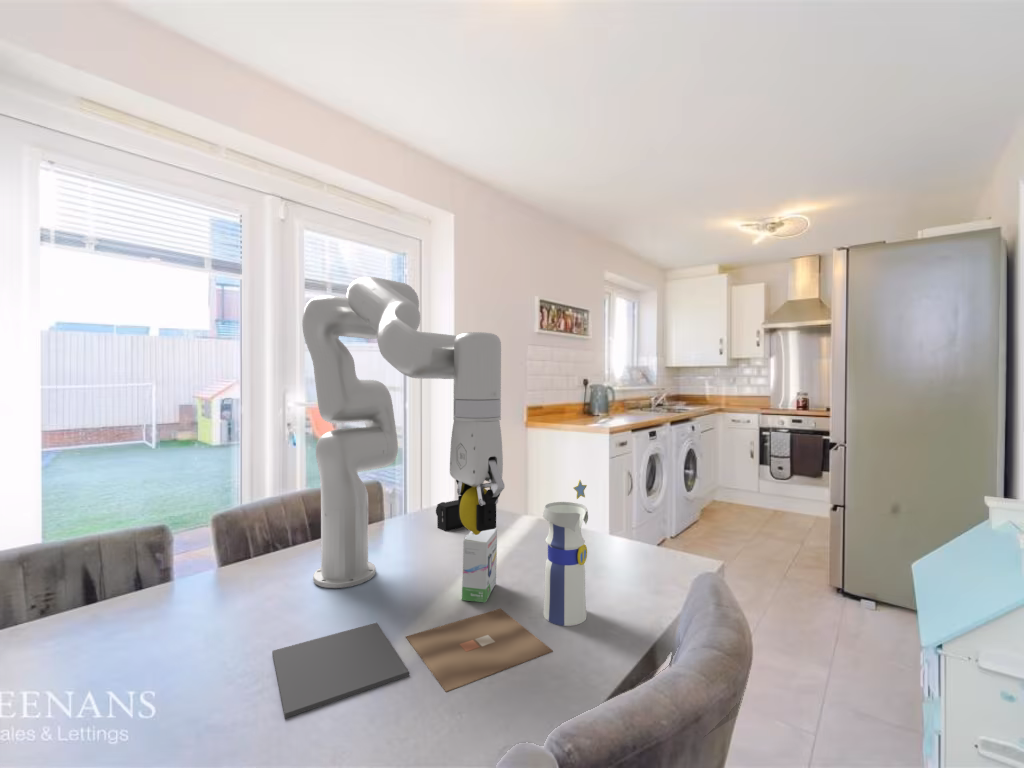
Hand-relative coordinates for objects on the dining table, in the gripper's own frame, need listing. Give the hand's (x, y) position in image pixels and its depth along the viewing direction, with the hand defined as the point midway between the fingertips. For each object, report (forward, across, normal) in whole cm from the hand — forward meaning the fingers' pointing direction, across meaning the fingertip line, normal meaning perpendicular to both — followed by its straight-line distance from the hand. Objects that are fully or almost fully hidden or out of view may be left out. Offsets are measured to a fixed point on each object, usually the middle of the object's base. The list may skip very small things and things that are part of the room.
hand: (476, 523), depth 75 cm
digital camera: (+20, -58, +24) cm, 66 cm away
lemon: (+2, 0, 0) cm, 2 cm away
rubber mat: (+19, -6, -20) cm, 28 cm away
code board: (+19, 0, 0) cm, 19 cm away
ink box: (+20, -16, +9) cm, 27 cm away
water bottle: (+19, 0, +18) cm, 27 cm away
